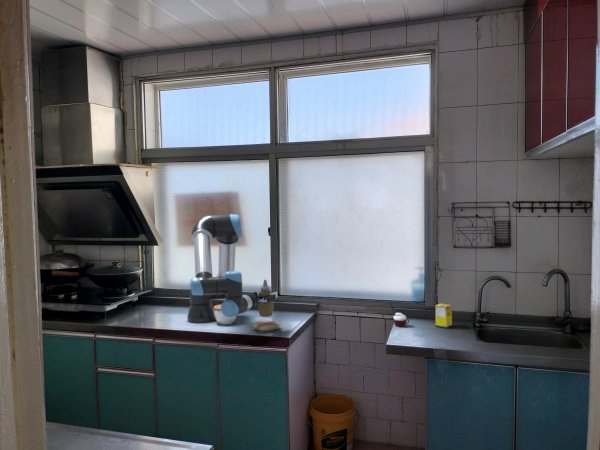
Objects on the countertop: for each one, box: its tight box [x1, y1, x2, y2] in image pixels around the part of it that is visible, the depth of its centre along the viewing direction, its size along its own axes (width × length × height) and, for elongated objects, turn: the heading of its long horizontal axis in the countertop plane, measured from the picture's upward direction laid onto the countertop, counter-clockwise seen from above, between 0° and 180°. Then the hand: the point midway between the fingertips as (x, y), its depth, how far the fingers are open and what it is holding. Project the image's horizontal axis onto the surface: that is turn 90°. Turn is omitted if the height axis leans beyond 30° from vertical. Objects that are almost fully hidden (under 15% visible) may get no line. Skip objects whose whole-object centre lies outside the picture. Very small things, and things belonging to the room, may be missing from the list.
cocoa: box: [389, 302, 410, 328], centre depth 230 cm, size 10×6×12 cm, turn 68°
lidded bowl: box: [213, 303, 238, 326], centre depth 242 cm, size 13×13×11 cm
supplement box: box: [434, 303, 453, 329], centre depth 227 cm, size 6×6×11 cm
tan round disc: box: [252, 320, 280, 333], centre depth 227 cm, size 13×13×3 cm
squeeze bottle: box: [257, 279, 275, 318], centre depth 226 cm, size 8×8×18 cm
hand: (270, 294), depth 231 cm, fingers closed on squeeze bottle, 6 cm apart
